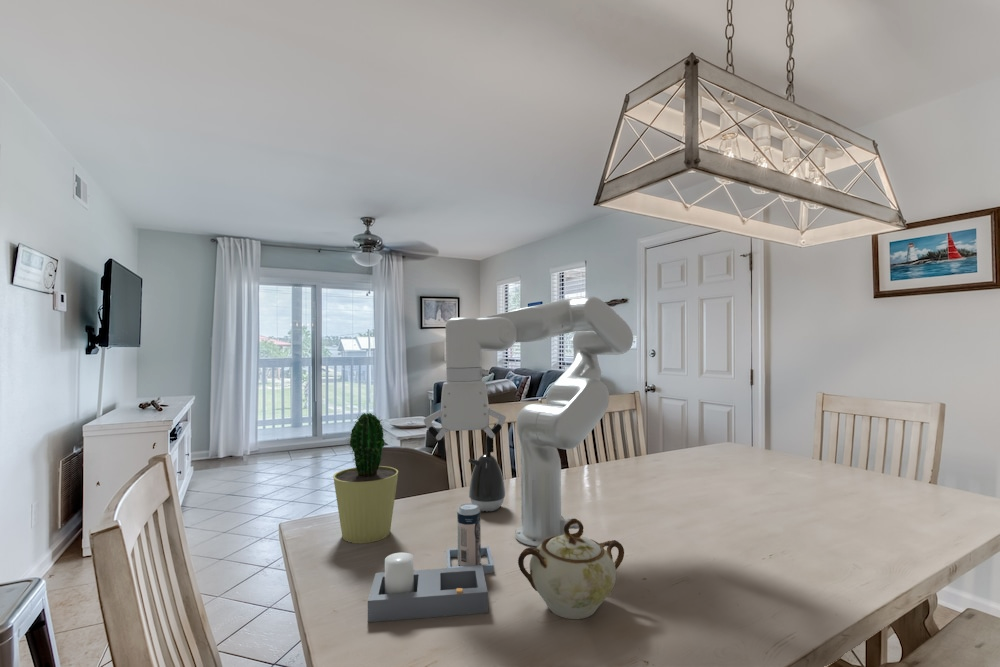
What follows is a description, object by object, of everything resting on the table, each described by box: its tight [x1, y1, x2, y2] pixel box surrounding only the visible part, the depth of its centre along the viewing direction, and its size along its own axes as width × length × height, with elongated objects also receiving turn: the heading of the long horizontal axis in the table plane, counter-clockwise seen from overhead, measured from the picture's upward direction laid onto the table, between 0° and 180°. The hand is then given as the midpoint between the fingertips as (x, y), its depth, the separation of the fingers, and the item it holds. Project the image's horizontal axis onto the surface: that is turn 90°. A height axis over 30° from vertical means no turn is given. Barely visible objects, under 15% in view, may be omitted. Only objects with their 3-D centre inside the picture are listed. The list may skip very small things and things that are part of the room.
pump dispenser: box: [468, 453, 506, 513], centre depth 136 cm, size 10×10×15 cm
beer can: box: [456, 502, 482, 566], centre depth 101 cm, size 5×5×12 cm
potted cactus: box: [332, 412, 399, 544], centre depth 118 cm, size 15×15×30 cm
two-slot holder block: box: [367, 552, 489, 623], centre depth 86 cm, size 20×10×8 cm, turn 97°
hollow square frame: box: [446, 546, 494, 574], centre depth 101 cm, size 9×9×2 cm
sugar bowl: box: [517, 518, 625, 620], centre depth 85 cm, size 20×15×15 cm
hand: (465, 456), depth 102 cm, fingers open, 9 cm apart
